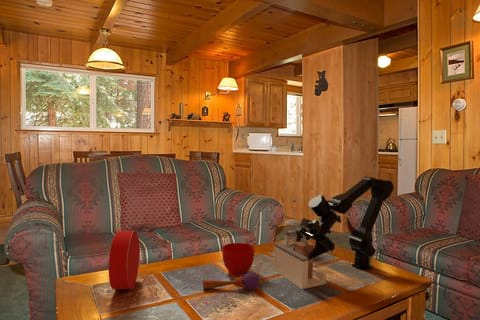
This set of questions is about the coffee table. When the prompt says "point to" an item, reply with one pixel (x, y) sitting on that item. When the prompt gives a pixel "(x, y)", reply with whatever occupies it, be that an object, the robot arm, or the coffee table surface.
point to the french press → (291, 231)
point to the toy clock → (124, 260)
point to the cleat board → (296, 267)
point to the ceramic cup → (238, 257)
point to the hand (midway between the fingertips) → (300, 255)
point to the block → (305, 253)
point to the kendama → (235, 282)
